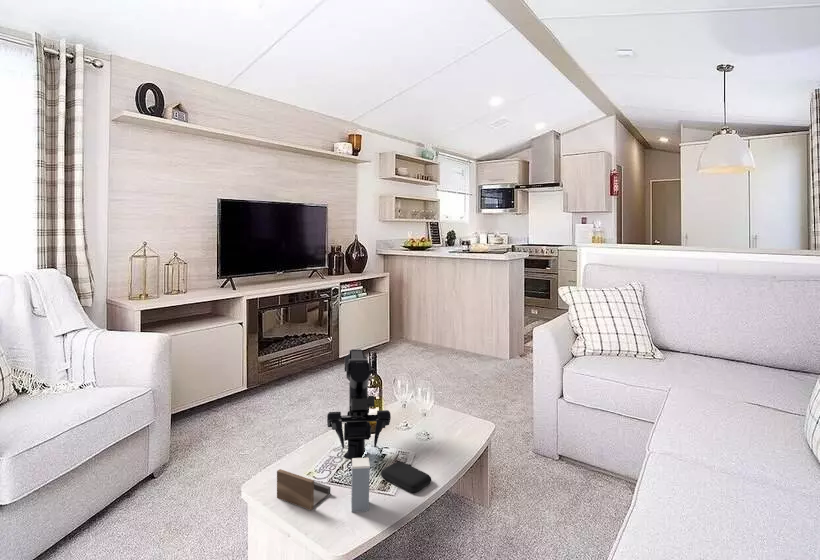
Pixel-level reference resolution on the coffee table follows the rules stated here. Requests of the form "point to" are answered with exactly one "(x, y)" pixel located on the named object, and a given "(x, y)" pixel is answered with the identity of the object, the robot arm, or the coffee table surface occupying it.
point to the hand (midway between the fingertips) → (359, 447)
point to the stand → (300, 490)
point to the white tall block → (360, 484)
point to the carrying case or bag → (406, 477)
